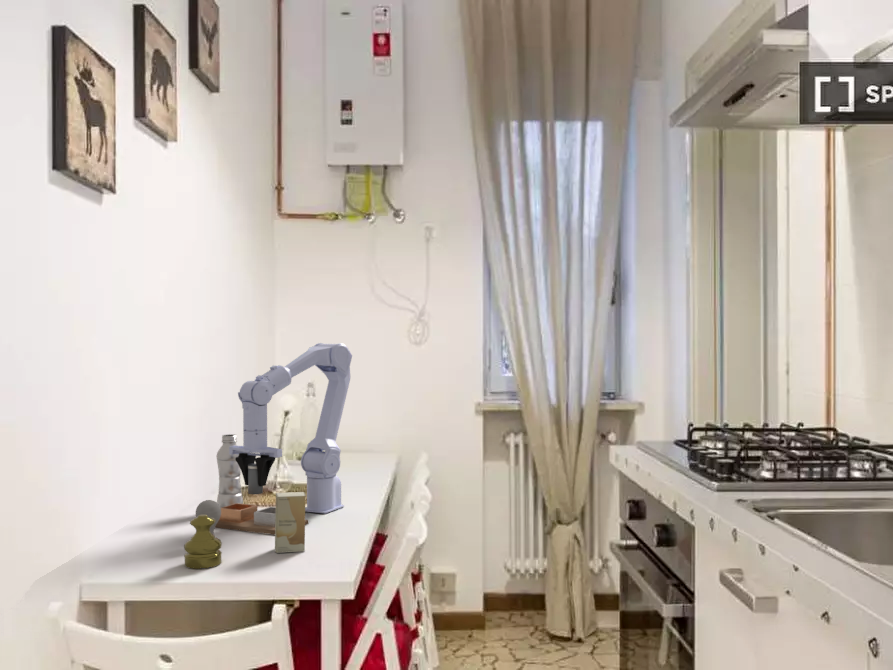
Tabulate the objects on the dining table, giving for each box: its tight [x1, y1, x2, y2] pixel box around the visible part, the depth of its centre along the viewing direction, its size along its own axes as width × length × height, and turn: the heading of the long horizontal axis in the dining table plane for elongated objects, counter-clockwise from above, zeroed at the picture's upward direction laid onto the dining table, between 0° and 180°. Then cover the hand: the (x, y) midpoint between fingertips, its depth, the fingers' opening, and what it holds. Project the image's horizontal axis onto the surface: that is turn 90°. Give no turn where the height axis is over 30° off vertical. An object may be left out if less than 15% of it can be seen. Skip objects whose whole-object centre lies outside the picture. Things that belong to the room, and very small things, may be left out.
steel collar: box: [254, 506, 276, 527], centre depth 199 cm, size 6×6×3 cm
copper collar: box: [219, 503, 258, 523], centre depth 204 cm, size 6×6×3 cm
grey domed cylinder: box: [247, 462, 264, 495], centre depth 203 cm, size 4×4×7 cm
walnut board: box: [214, 519, 309, 536], centre depth 201 cm, size 12×22×1 cm, turn 65°
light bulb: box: [195, 499, 221, 536], centre depth 183 cm, size 5×5×10 cm
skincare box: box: [274, 491, 306, 554], centre depth 178 cm, size 6×4×12 cm
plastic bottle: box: [216, 433, 244, 508], centre depth 216 cm, size 6×7×20 cm
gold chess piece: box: [183, 515, 223, 570], centre depth 168 cm, size 7×7×10 cm
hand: (255, 485), depth 203 cm, fingers closed on grey domed cylinder, 3 cm apart
